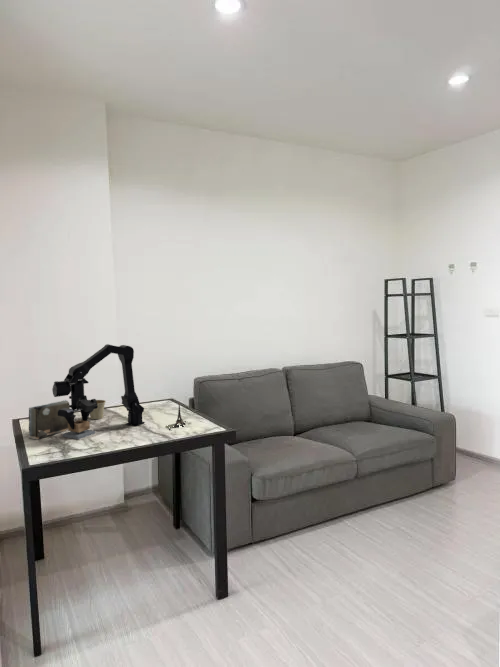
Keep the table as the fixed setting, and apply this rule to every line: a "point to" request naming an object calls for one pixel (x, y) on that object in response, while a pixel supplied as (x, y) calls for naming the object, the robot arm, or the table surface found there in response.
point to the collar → (79, 426)
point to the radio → (47, 420)
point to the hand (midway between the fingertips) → (78, 427)
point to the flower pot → (98, 410)
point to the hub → (78, 434)
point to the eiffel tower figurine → (177, 421)
